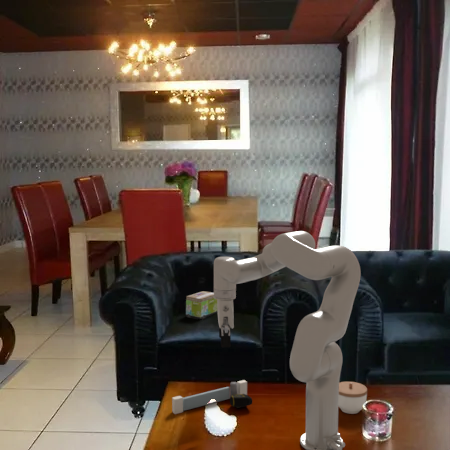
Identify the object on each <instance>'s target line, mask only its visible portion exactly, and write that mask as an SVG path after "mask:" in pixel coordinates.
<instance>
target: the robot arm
mask: <svg viewBox="0 0 450 450" xmlns="http://www.w3.org/2000/svg"><path fill="white" fill-rule="evenodd" d="M284 268H288V269H289V270H291V271H294V272H295V273H297V274H299V275H301V276H302V277H304V278H306V279H308V280H313V281H321V280H325V279H328V278H331V279H330V281H329V282H328V285H327V287H326V289H325V291H324V293H323V298H322V302H321V304H320V307H319V309H318V310H317V311H314V312H312V313H309V314H307V315H305V316H304V317H303V318H302V319H301V320H300V322H299V324H298V326H297V328H296V332H295V336H294V338H293V339H294V340H293V344H292V348H291V351H290V356H289V357H290V358H289V369H290V371H291V374H292V375H293V377H294V378H295V379H296V380H298V381H299V382H302V383H306V384H305V385H306V387H305V433H303V434H302V435H301V436H300V438H299V442H300V445H301V447H302V448H304V449H305V450H343V448H345V446H346V443H345V442H344V440H343V438H342V437H341V433H339V406H338V399H339V383H340V378H341V372H342V366H343V353H342V349H341V347H340V346H339V345H338V343H336V342H337V341H338V340H340V339H342V338H343V337H344V335H345V334H346V331H347V328H348V324H349V322H350V321H349V320H350V317H351V314H352V310H353V305H354V302H355V298H356V296H357V293H358V289H359V286H360V280H361V274H362V273H361V272H362V271H361V266H360V263H359V259H358V258H357V256H356V255H355V253H354V252H353V251H352V250H351V249H349V248H348V247H346V246H343V245H329V246H324V247H321V248H320V247H319V248H316V240H315V238H314V237H313V235H311V234H310V233H309V232H307V231H304V230H298V231H297V230H296V231H295V230H294V231H289V232H285V233H281V234H278V235H277V236H275V237H274V239H273V240H272V241H271V242H270V243H268V244H266V245H265V246H264V247H263V248H262V253H259V254H258V255H254V256H253V257H247V258H242V259H237V260H236V258H234V257H232V256H218V257H216V258H215V259H214V260H213V293H214V298H215V299H217V313H216V314H217V320H218V321H217V322H218V326H219V327H218V332H219V333H218V337H219V339H220V347H221V348H231V345H232V344H231V341H232V339H231V338H232V337H231V329H234V328H235V325H234V320H235V319H234V300H235V299H236V297H237V296H236V295H237V292H236V291H237V285H238V284H243V283H248V282H251V281H256V280H259V279H261V278H264V277H266V276H269V275H271V274H274V273H275V272H278V271H279V270H282V269H284Z"/></svg>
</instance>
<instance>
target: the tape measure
mask: <svg viewBox="0 0 450 450" xmlns="http://www.w3.org/2000/svg"><path fill="white" fill-rule="evenodd" d="M229 404H230V406H232V407H233V408H234V407H235V408H236V409H238V408H244V407H247V406H251V405H252V404H253V399H252V397H251V396H249V395H248V394H247V395H246V394H235V395H232V396H231V397H230V399H229Z"/></svg>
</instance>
